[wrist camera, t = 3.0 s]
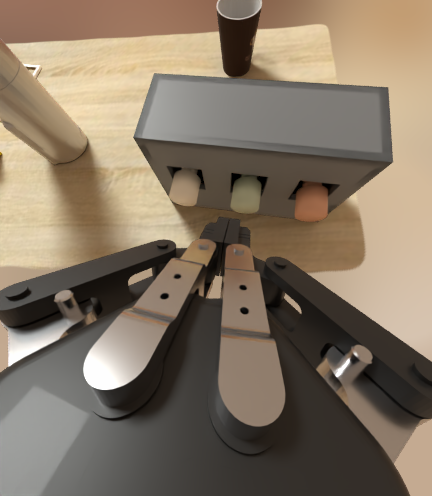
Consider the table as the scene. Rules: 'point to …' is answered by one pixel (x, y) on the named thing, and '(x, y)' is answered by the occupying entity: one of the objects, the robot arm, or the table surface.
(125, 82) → the table surface
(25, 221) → the table surface
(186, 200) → the cream button
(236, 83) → the console
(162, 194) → the table surface
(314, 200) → the terracotta button
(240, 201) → the sage button
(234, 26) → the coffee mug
